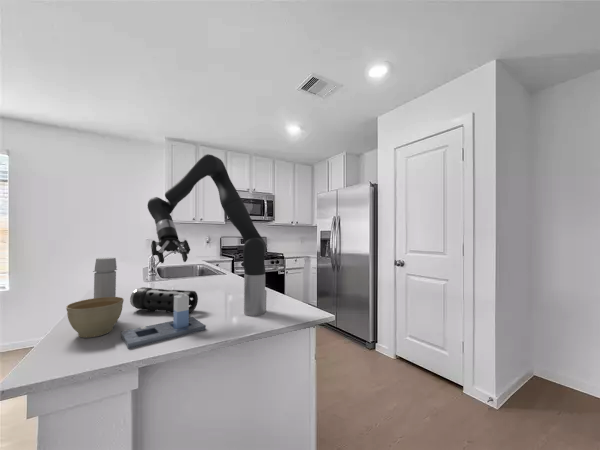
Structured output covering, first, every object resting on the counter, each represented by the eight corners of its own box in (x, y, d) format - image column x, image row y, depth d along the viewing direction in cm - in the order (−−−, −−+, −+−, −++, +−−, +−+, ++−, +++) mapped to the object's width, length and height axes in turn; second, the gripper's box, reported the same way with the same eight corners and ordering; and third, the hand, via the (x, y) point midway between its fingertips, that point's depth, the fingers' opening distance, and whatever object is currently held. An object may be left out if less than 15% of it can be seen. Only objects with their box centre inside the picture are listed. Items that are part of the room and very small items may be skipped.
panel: (192, 321, 107) (192, 316, 107) (205, 331, 97) (205, 325, 97) (120, 337, 91) (120, 331, 91) (127, 350, 81) (128, 343, 81)
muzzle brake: (185, 317, 112) (185, 293, 112) (128, 313, 118) (128, 289, 118) (198, 311, 122) (198, 288, 122) (144, 307, 127) (145, 285, 127)
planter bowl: (116, 322, 106) (117, 294, 107) (128, 333, 95) (128, 302, 95) (62, 333, 95) (63, 302, 95) (68, 347, 84) (69, 311, 84)
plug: (184, 326, 101) (185, 291, 101) (188, 329, 98) (188, 293, 98) (173, 328, 98) (173, 293, 98) (176, 331, 95) (177, 295, 95)
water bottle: (118, 321, 107) (119, 258, 108) (94, 326, 101) (95, 259, 102) (112, 316, 113) (113, 256, 114) (89, 320, 108) (90, 258, 108)
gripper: (150, 225, 110) (156, 256, 101) (186, 226, 119) (194, 254, 111) (146, 238, 114) (152, 268, 105) (181, 238, 123) (189, 265, 114)
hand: (174, 261), depth 108 cm, fingers open, 8 cm apart
